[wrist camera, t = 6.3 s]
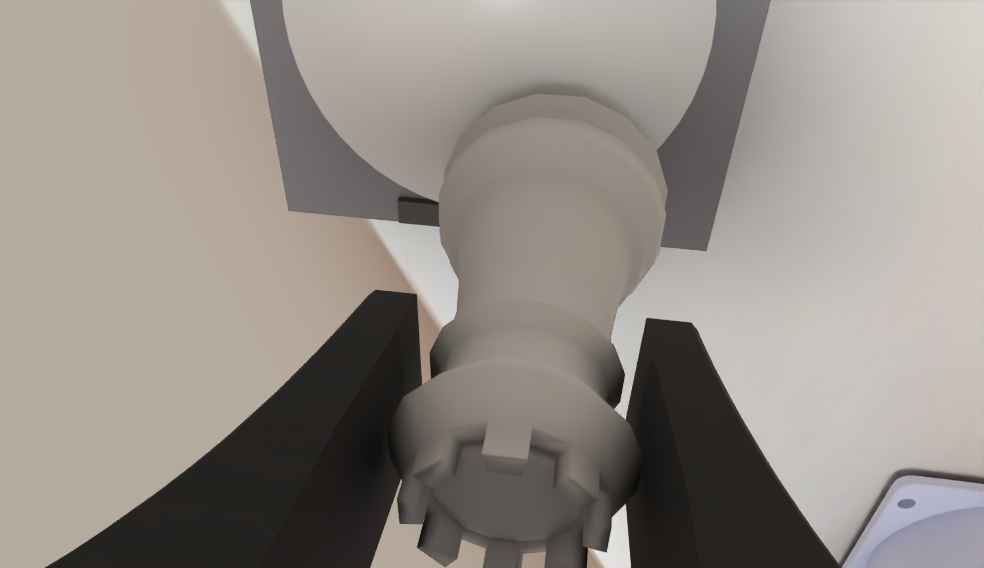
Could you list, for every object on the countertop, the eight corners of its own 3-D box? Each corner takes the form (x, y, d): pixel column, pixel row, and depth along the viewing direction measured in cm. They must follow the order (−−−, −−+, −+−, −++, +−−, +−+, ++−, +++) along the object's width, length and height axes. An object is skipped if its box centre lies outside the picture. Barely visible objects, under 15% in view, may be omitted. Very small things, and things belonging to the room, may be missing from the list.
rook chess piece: (600, 38, 13) (578, 329, 6) (703, 227, 15) (762, 592, 8) (404, 148, 15) (238, 457, 8) (518, 303, 17) (455, 647, 10)
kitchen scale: (698, 205, 18) (709, 272, 16) (315, 170, 19) (276, 229, 17) (820, -309, 12) (865, -315, 10) (241, -323, 13) (164, -331, 11)
